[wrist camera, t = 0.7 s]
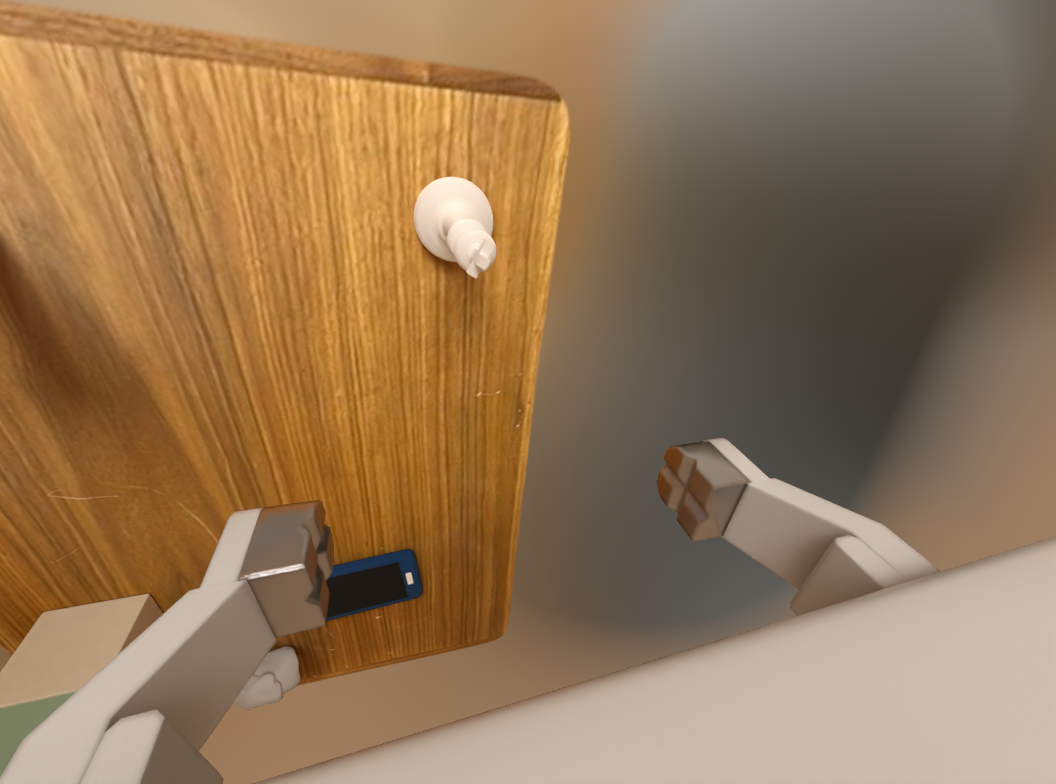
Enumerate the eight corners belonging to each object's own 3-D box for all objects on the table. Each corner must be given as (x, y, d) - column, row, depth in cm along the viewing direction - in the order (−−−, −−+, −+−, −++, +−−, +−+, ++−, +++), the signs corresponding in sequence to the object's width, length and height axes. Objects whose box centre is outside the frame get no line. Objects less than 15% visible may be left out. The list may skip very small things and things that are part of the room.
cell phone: (423, 590, 44) (423, 596, 44) (281, 626, 41) (279, 633, 40) (413, 547, 40) (413, 553, 40) (255, 583, 37) (253, 590, 36)
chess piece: (506, 206, 26) (558, 241, 18) (469, 273, 28) (502, 334, 20) (436, 158, 24) (460, 174, 16) (399, 235, 25) (404, 286, 17)
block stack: (42, 611, 32) (-301, 1090, 16) (149, 592, 34) (-63, 1004, 18) (85, 656, 36) (-161, 1084, 20) (179, 637, 38) (25, 1013, 22)
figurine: (306, 656, 45) (298, 707, 41) (219, 670, 42) (201, 726, 38) (304, 636, 43) (296, 687, 39) (213, 650, 40) (194, 707, 36)
